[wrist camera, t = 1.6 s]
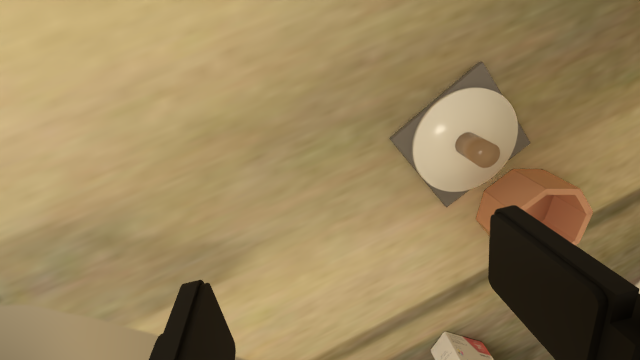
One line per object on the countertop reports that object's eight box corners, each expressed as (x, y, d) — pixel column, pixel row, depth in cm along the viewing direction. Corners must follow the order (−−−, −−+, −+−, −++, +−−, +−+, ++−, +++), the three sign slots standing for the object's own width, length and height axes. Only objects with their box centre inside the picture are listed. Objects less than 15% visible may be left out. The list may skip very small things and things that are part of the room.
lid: (482, 62, 36) (513, 66, 32) (530, 143, 41) (563, 157, 37) (390, 139, 39) (406, 154, 34) (446, 207, 44) (467, 228, 39)
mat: (479, 61, 37) (482, 62, 36) (527, 141, 42) (530, 143, 41) (389, 138, 39) (390, 139, 39) (444, 205, 44) (446, 207, 44)
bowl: (533, 153, 43) (570, 171, 37) (563, 204, 47) (601, 227, 41) (464, 205, 45) (490, 229, 39) (500, 249, 49) (528, 277, 44)
